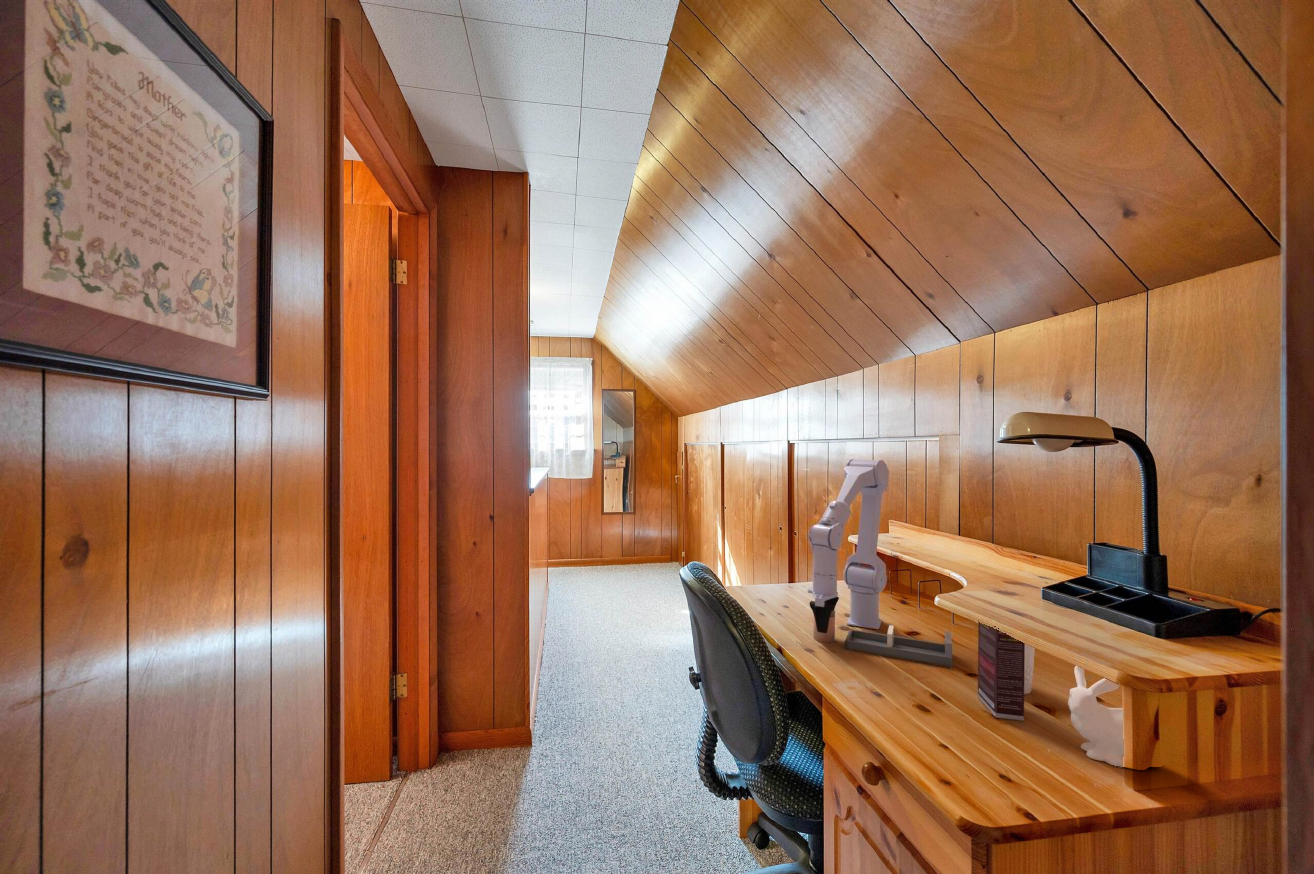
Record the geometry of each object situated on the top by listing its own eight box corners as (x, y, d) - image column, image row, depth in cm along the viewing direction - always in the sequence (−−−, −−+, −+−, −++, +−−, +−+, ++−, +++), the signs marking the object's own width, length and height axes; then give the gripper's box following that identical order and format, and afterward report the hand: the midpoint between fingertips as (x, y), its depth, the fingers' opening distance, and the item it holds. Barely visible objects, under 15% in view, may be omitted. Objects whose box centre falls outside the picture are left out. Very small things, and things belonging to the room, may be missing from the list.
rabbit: (1069, 757, 83) (1069, 677, 83) (1064, 731, 90) (1064, 658, 91) (1178, 785, 76) (1177, 698, 76) (1161, 754, 84) (1161, 676, 84)
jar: (815, 634, 136) (815, 606, 137) (836, 637, 134) (836, 609, 134) (811, 640, 132) (812, 611, 132) (833, 643, 130) (833, 614, 130)
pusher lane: (850, 637, 135) (850, 616, 135) (950, 653, 125) (950, 631, 125) (845, 648, 126) (845, 627, 127) (952, 667, 117) (952, 644, 117)
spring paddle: (889, 641, 130) (889, 625, 130) (893, 642, 129) (893, 625, 129) (887, 651, 123) (887, 633, 123) (891, 652, 123) (892, 634, 123)
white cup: (1020, 680, 111) (1020, 630, 111) (1044, 697, 103) (1044, 644, 103) (979, 677, 112) (980, 628, 112) (1000, 694, 104) (1000, 642, 104)
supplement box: (1026, 722, 93) (1026, 629, 94) (995, 718, 94) (995, 626, 95) (1004, 699, 102) (1005, 614, 102) (976, 696, 103) (976, 612, 103)
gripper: (813, 566, 142) (813, 618, 141) (802, 577, 129) (801, 634, 128) (842, 569, 139) (841, 622, 138) (833, 580, 126) (832, 640, 125)
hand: (824, 629), depth 133 cm, fingers closed on jar, 5 cm apart
